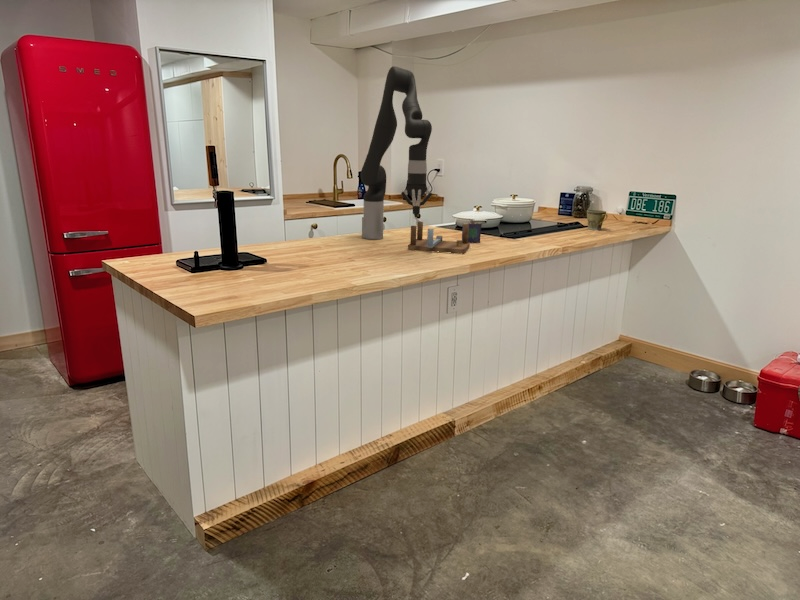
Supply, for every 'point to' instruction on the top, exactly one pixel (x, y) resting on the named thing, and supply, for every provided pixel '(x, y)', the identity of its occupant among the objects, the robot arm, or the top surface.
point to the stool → (441, 246)
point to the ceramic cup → (595, 219)
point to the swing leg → (430, 239)
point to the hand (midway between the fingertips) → (416, 215)
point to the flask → (473, 232)
